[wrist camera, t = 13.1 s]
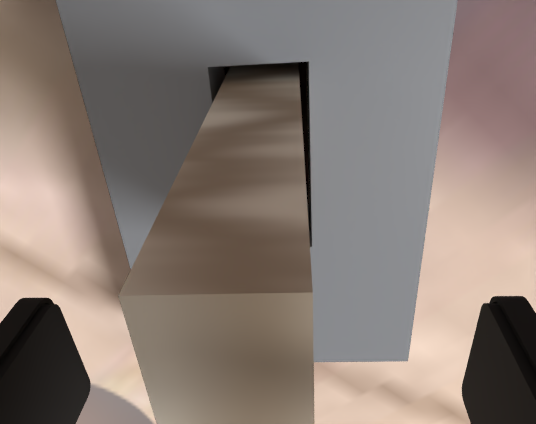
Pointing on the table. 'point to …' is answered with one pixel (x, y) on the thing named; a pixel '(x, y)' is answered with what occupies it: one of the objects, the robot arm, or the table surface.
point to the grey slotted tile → (319, 132)
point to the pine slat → (231, 266)
